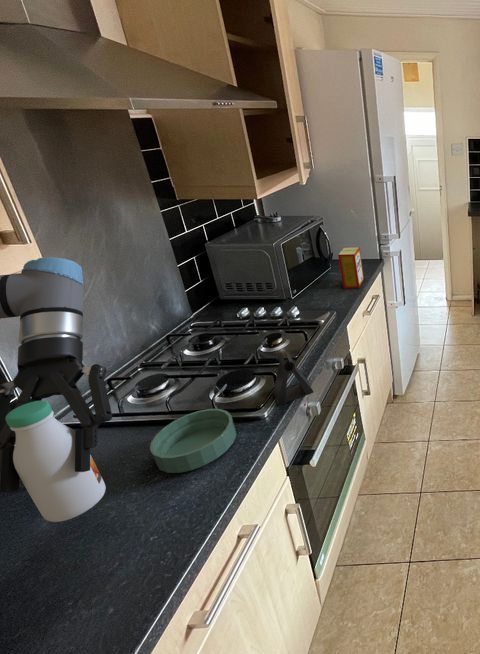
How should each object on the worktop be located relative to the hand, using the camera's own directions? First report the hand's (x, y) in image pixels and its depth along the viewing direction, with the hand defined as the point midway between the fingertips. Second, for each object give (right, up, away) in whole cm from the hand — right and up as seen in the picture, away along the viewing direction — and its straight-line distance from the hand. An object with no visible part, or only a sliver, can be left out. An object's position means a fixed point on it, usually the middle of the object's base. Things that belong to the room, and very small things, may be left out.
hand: (47, 480), depth 65 cm
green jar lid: (0, -9, +32) cm, 33 cm away
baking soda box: (+3, +27, +120) cm, 123 cm away
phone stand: (+12, -1, +50) cm, 52 cm away
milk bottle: (-2, -7, +6) cm, 9 cm away
